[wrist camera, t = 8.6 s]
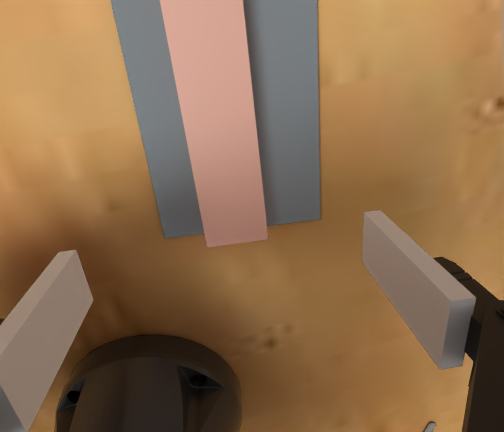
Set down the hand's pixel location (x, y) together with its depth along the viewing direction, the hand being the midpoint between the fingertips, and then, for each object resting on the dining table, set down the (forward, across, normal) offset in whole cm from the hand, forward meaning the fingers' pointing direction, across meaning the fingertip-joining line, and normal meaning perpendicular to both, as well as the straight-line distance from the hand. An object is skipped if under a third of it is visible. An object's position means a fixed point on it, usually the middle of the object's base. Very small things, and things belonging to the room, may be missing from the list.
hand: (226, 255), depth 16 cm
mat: (+8, -1, -5) cm, 10 cm away
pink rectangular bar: (+8, 0, -6) cm, 10 cm away
